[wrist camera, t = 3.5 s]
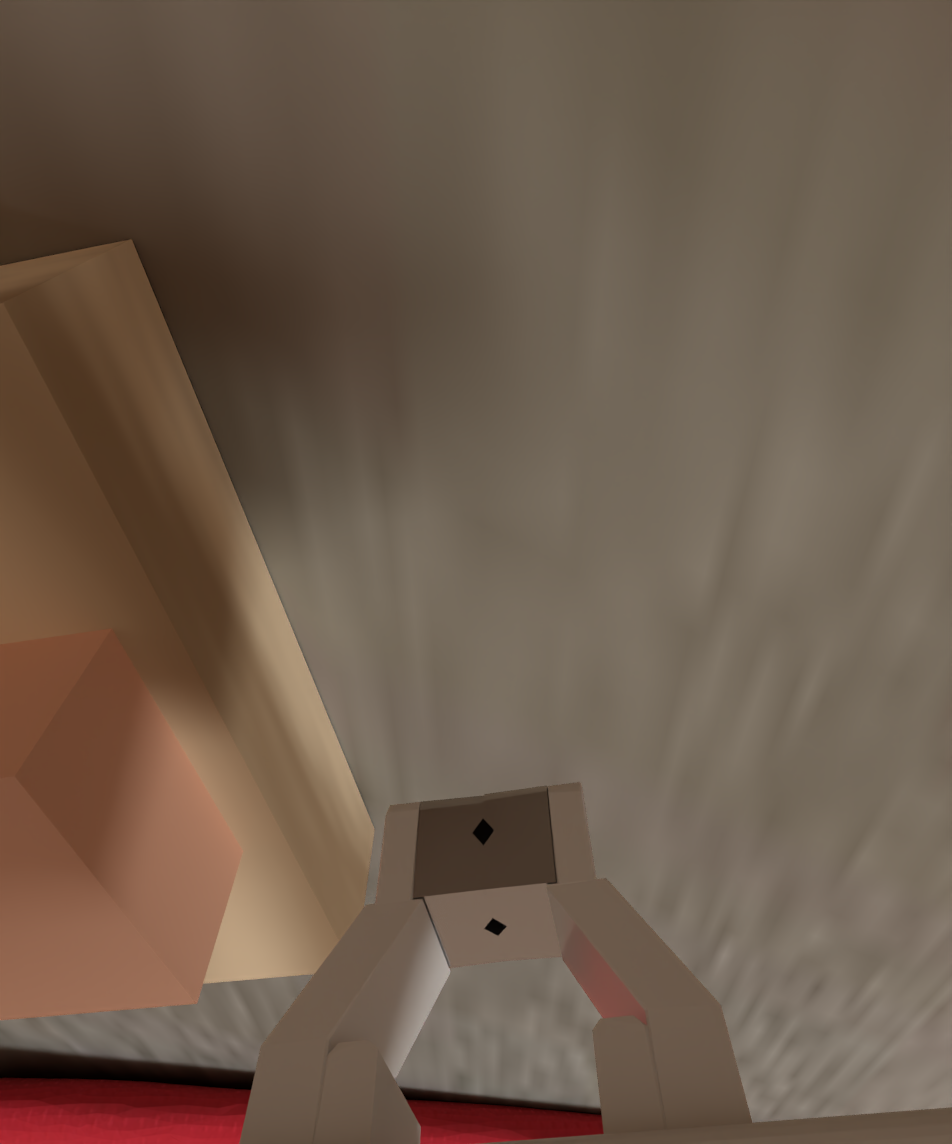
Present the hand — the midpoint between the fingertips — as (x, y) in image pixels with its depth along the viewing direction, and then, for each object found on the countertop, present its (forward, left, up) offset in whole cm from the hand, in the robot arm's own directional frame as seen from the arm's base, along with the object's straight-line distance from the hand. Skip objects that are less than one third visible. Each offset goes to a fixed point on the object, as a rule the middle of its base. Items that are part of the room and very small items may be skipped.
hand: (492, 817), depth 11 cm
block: (+10, 0, -2) cm, 10 cm away
